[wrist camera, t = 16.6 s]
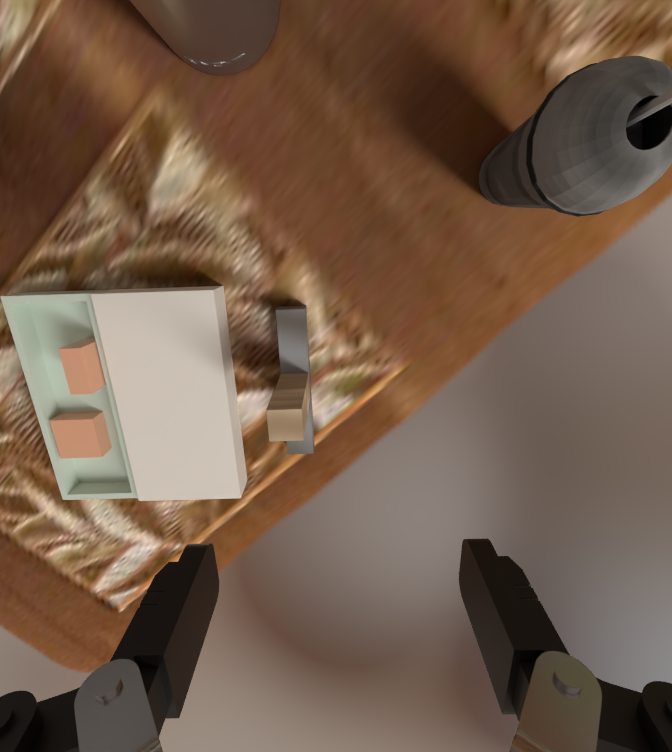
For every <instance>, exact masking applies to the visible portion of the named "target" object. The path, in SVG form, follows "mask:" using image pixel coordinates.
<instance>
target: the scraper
mask: <svg viewBox="0 0 672 752" xmlns="http://www.w3.org/2000/svg"><path fill="white" fill-rule="evenodd" d="M276 321H277V333H278V345H279V357H280V369H281V375H280V377H279V380H278V382H277V385H276V387H275V390H274V392H273V395H272V397H271V400H270V402H269V405H268V407H267V410H266V411H267V421H268V431H269V441H287V453H288V454H311V453H313V452H314V431H313V413H312V396H311V379H310V361H309V344H308V326H307V309H306V306H279V307H278V308H277V309H276Z"/></svg>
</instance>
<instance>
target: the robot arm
mask: <svg viewBox="0 0 672 752" xmlns="http://www.w3.org/2000/svg"><path fill="white" fill-rule="evenodd" d="M130 2H131V3H132V4H133V5H134V6H135V7H136V9H137V10H138V11H139V12H140V13H141V14H142V15H143V17H144V18H145V19H146V20H147V21H148V22H149V24H150V25H151V26H152V27H153V28H154V30H155V31H156V32H157V33H158V34H159V35H160V36H161V38H162V39H163V40H164V41H165V42H166V43H167V45H168V46H169V47H170V48H171V49H172V50H173V51H174V53H176V54H177V55H178V56H179V57H180V58H181V59H182V60H183V61H184V62H185V63H187V64H189V65H190V66H192V67H193V68H195V69H197V70H199V71H202V72H205V73H208V74H213V75H229V74H235V73H238V72H240V71H242V70H245V69H247V68H248V67H250V66H251V65H252V64H254V63H255V62H256V61H257V60H259V58H260V57H261V56H262V55H263V53H264V52H265V51H266V50H267V48H268V46H269V44H270V42H271V40H272V38H273V36H274V34H275V30H276V27H277V23H278V19H279V9H280V0H130ZM459 585H460V591H461V596H462V599H463V602H464V605H465V608H466V611H467V613H468V616H469V619H470V622H471V625H472V628H473V631H474V634H475V637H476V639H477V642H478V645H479V648H480V651H481V654H482V657H483V660H484V662H485V665H486V668H487V671H488V674H489V677H490V679H491V683H492V686H493V689H494V691H495V694H496V697H497V700H498V703H499V706H500V709H501V712H502V714H516V715H517V718H518V720H519V724H518V728H517V731H516V734H515V737H514V739H513V741H512V745H511V748H510V752H672V684H671V683H667V682H661V681H656V682H655V681H654V682H651V683H649V684H647V685H646V686H645V687H644V689H643V692H642V693H640V692H637V691H633V690H630V689H627V688H623V687H620V686H617V685H613V684H610V683H607V682H604V681H602V680H600V679H598V678H596V677H595V676H594V675H593V673H592V672H591V671H590V670H589V669H588V668H587V667H586V666H585V665H584V664H583V663H582V662H580V661H579V660H578V659H576V658H574V657H572V656H570V654H569V653H568V652H567V650H566V648H565V646H564V644H563V642H562V641H561V639H560V637H559V635H558V633H557V632H556V630H555V628H554V626H553V625H552V622H551V621H550V619H549V617H548V615H547V613H546V612H545V610H544V608H543V606H542V605H541V603H540V601H538V597H537V595H536V594H535V592H534V590H533V588H531V585H530V583H529V581H528V579H527V577H526V576H525V574H524V572H523V570H522V569H521V568H520V567H519V566H518V565H517V564H516V563H515V562H514V561H513V560H511V558H509V557H508V556H497V554H496V551H495V549H494V547H493V545H492V543H491V542H490V540H489V539H464V540H463V543H462V553H461V562H460V571H459ZM218 593H219V577H218V570H217V564H216V558H215V552H214V547H213V545H212V544H188V545H187V546H186V547H185V549H184V551H183V553H182V555H181V557H180V559H179V561H178V562H168V563H167V564H166V565H165V566H164V567H163V568H162V569H161V570H160V571H159V572H158V573H157V574H156V575H155V577H154V579H153V581H152V583H151V585H150V586H149V588H148V590H147V594H145V596H144V598H143V600H142V602H141V604H140V608H138V609H137V611H136V613H135V615H134V617H133V619H132V621H131V623H130V625H129V626H128V628H127V630H126V632H125V634H124V636H123V638H122V640H121V642H120V644H119V645H118V647H117V649H116V651H115V653H114V655H113V657H112V658H111V660H110V662H108V663H106V664H104V665H102V666H101V667H99V668H98V669H96V670H95V671H94V672H93V673H92V674H91V675H90V676H89V677H88V678H87V679H86V680H85V681H84V683H83V684H82V685H81V687H80V688H77V689H75V690H73V691H70V692H67V693H64V694H61V695H58V696H55V697H52V698H49V699H47V700H44V701H40V702H37V701H36V699H35V697H34V696H33V694H32V693H30V692H27V691H15V692H11V693H8V694H6V695H4V696H1V697H0V752H163V751H162V748H161V744H160V741H159V735H160V732H161V729H162V726H163V723H164V720H165V718H179V717H180V714H181V711H182V708H183V705H184V701H185V698H186V695H187V692H188V689H189V686H190V683H191V680H192V677H193V673H194V670H195V667H196V664H197V661H198V658H199V655H200V651H201V649H202V646H203V642H204V639H205V636H206V633H207V630H208V627H209V624H210V621H211V618H212V614H213V611H214V608H215V605H216V602H217V598H218Z"/></svg>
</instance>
